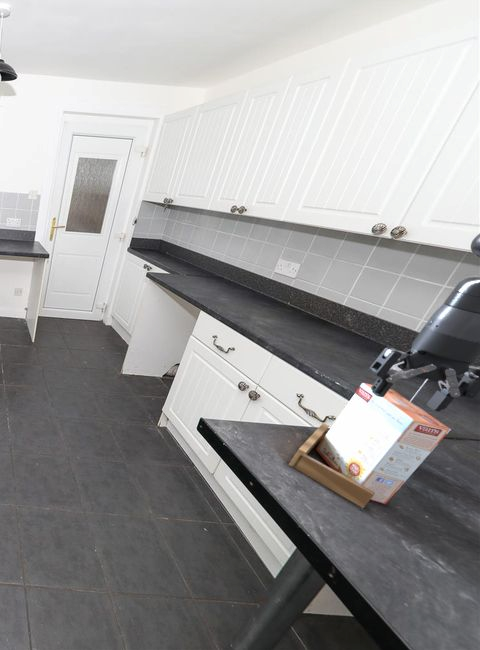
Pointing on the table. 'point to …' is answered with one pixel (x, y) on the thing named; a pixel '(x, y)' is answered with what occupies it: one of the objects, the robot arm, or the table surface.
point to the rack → (328, 472)
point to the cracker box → (380, 441)
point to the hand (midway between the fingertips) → (404, 401)
